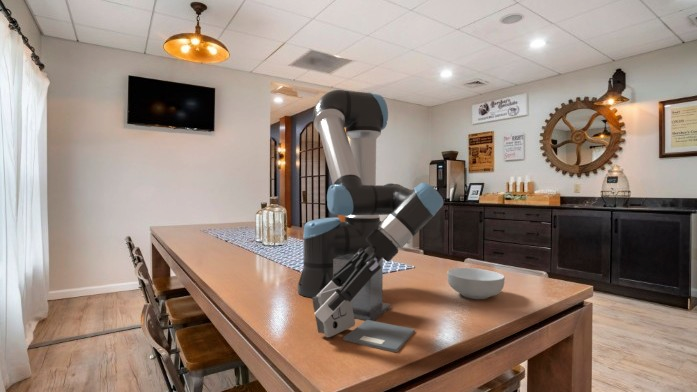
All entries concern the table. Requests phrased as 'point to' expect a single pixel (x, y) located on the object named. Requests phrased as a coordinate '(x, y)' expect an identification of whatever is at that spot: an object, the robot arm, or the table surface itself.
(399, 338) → the pad
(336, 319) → the electrical switch
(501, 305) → the table surface
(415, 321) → the table surface
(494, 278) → the cereal bowl
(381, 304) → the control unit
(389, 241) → the robot arm
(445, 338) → the table surface
